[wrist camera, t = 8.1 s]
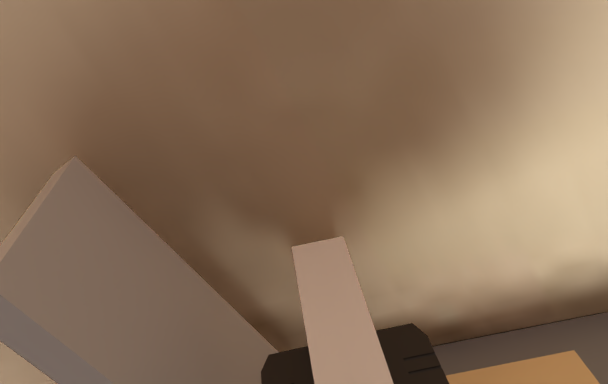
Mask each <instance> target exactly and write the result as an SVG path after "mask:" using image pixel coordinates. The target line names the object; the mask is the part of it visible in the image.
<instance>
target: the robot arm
mask: <svg viewBox="0 0 608 384" xmlns="http://www.w3.org/2000/svg"><path fill="white" fill-rule="evenodd" d="M291 248H292V254H293V260H294V265H295V271H296V277H297V283H298V289H299V295H300V301H301V307H302V313H303V319H304V325H305V331H306V336H307V342H308V347H303V348H298V349H294V350H289V351H284V352H279V353H275V354H270V355H268V357H267V359H266V362H265V364H264V366H263V368H262V370H261V384H449V382H448V380H447V378H446V375H445V373H444V371H443V369H442V368H441V365H440V362H439V360H438V358H437V356H436V355H435V352H434V349H433V347H432V345H431V343H430V341H429V339H428V336H427V335H426V334H425V333H423V332H422V331H421V330H420V329H418V328H417V327H416V326H415V325H414V324H412V323H411V324H407V325H402V326H397V327H392V328H388V329H383V330H378V331H375V328H374V325H373V322H372V319H371V316H370V313H369V310H368V307H367V304H366V301H365V298H364V295H363V292H362V289H361V286H360V284H359V281H358V278H357V275H356V272H355V269H354V266H353V263H352V260H351V257H350V254H349V251H348V248H347V245H346V242H345V239H344V237H343V236H341V237H336V238H332V239H327V240H322V241H317V242H312V243H307V244H302V245H297V246H293V247H291Z"/></svg>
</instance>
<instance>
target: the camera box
mask: <svg viewBox="0 0 608 384" xmlns="http://www.w3.org/2000/svg"><path fill="white" fill-rule="evenodd" d="M433 349H434V352H435V355H436V356H437V358H438V360H439V362H440V365H441V368H442V369H443V371H444V373H445V375H446V378H447V380H448V382H449V384H608V312H605V313H600V314H595V315H590V316H585V317H580V318H575V319H570V320H565V321H560V322H555V323H550V324H545V325H540V326H535V327H530V328H525V329H520V330H515V331H510V332H504V333H499V334H494V335H489V336H484V337H479V338H474V339H469V340H464V341H459V342H454V343H449V344H444V345H439V346H434V347H433Z"/></svg>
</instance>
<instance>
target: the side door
mask: <svg viewBox="0 0 608 384" xmlns="http://www.w3.org/2000/svg"><path fill="white" fill-rule="evenodd" d="M0 341H1V342H2V343H4V344H5V345H6V346H8V347H9V348H10V349H12V350H13V351H15V352H16V353H17V354H19V355H20V356H21V357H23V358H24V359H25V360H27V361H28V362H29V363H31V364H32V365H33V366H35V367H36V368H38V369H39V370H40V371H42V372H43V373H44V374H46V375H47V376H48V377H50V378H51V379H52V380H54V381H55V382H56V383H58V384H261V370H262V368H263V366H264V364H265V362H266V359H267V357H268V355H270V354H275V353H279V352H278V351H277V350H276V349H275V348H274V347H273V346H272V345H271V344H270V343H269V342H268V341H267V340H266V339H265V338H264V337H263V336H262V335H261V334H260V333H259V332H258V331H256V330H255V329H254V328H253V327H252V326H251V325H250V324H249V323H248V322H247V321H246V320H245V319H244V318H243V317H242V316H241V315H240V314H239V313H238V312H237V311H236V310H235V309H234V308H233V307H232V306H231V305H230V304H229V303H228V302H226V301H225V300H224V299H223V298H222V297H221V296H220V295H219V294H218V293H217V292H216V291H215V290H214V289H213V288H212V287H211V286H210V285H209V284H208V283H207V282H206V281H205V280H204V279H203V278H202V277H201V276H200V275H199V274H198V273H196V272H195V271H194V270H193V269H192V268H191V267H190V266H189V265H188V264H187V263H186V262H185V261H184V260H183V259H182V258H181V257H180V256H179V255H178V254H177V253H176V252H175V251H174V250H173V249H172V248H171V247H170V246H169V245H168V244H166V243H165V242H164V241H163V240H162V239H161V238H160V237H159V236H158V235H157V234H156V233H155V232H154V231H153V230H152V229H151V228H150V227H149V226H148V225H147V224H146V223H145V222H144V221H143V220H142V219H141V218H140V217H139V216H138V215H136V214H135V213H134V212H133V211H132V210H131V209H130V208H129V207H128V206H127V205H126V204H125V203H124V202H123V201H122V200H121V199H120V198H119V197H118V196H117V195H116V194H115V193H114V192H113V191H112V190H111V189H110V188H109V187H108V186H106V185H105V184H104V183H103V182H102V181H101V180H100V179H99V178H98V177H97V176H96V175H95V174H94V173H93V172H92V171H91V170H90V169H89V168H88V167H87V166H86V165H85V164H84V163H83V162H82V161H81V160H80V159H79V158H78V157H77V156H74V157H73V158H71V159H70V160H69V161H68V162H66V163H65V164H64V165H63V166H61V167H60V168H59V169H58V170H56V171H55V172H54V173H53V175H52V176H51V177H50V179H49V180H48V181H47V183H46V184H45V185H44V187H43V188H42V189H41V191H40V192H39V193H38V195H37V196H36V198H35V199H34V200H33V202H32V203H31V204H30V206H29V207H28V208H27V210H26V211H25V212H24V214H23V215H22V216H21V218H20V219H19V221H18V222H17V223H16V225H15V226H14V227H13V229H12V230H11V231H10V233H9V234H8V235H7V237H6V238H5V239H4V241H3V242H2V244H1V245H0Z"/></svg>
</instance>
